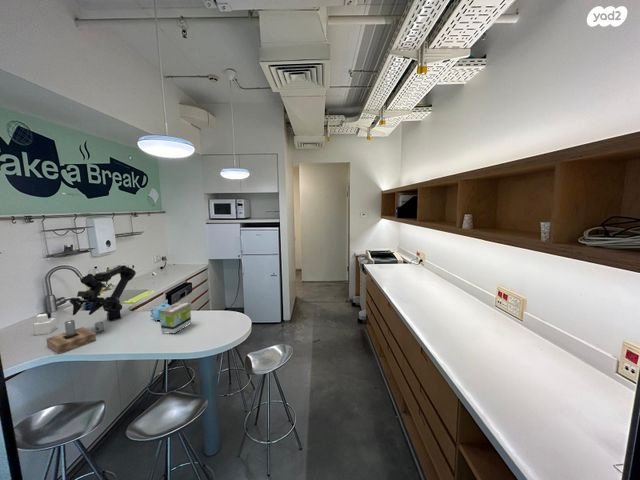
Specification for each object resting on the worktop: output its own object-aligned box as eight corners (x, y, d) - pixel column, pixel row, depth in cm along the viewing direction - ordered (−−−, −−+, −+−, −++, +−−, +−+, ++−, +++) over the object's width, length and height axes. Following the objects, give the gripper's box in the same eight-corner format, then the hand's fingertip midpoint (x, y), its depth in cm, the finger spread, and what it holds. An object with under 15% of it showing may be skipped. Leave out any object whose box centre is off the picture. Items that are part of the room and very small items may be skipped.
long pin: (78, 340, 150) (75, 319, 149) (75, 344, 147) (72, 322, 145) (69, 342, 149) (66, 321, 147) (66, 345, 145) (63, 323, 143)
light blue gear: (147, 319, 179) (146, 305, 178) (169, 311, 192) (168, 298, 190) (159, 324, 172) (157, 309, 170) (181, 316, 184) (179, 302, 183)
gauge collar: (83, 333, 158) (82, 327, 158) (95, 340, 151) (95, 333, 150) (47, 346, 145) (46, 338, 144) (58, 354, 137) (57, 346, 136)
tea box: (175, 335, 158) (173, 311, 156) (160, 333, 160) (159, 310, 158) (191, 324, 172) (190, 302, 170) (178, 322, 174) (177, 301, 172)
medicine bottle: (42, 330, 163) (39, 312, 162) (56, 328, 166) (54, 310, 164) (34, 335, 157) (31, 316, 155) (50, 333, 159) (47, 314, 157)
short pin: (102, 330, 164) (101, 321, 163) (105, 331, 162) (104, 322, 161) (94, 332, 160) (93, 323, 159) (97, 334, 158) (96, 325, 157)
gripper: (69, 285, 157) (54, 309, 147) (101, 284, 157) (88, 309, 148) (82, 293, 165) (69, 317, 156) (112, 292, 166) (101, 316, 157)
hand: (81, 314), depth 154 cm, fingers open, 9 cm apart
